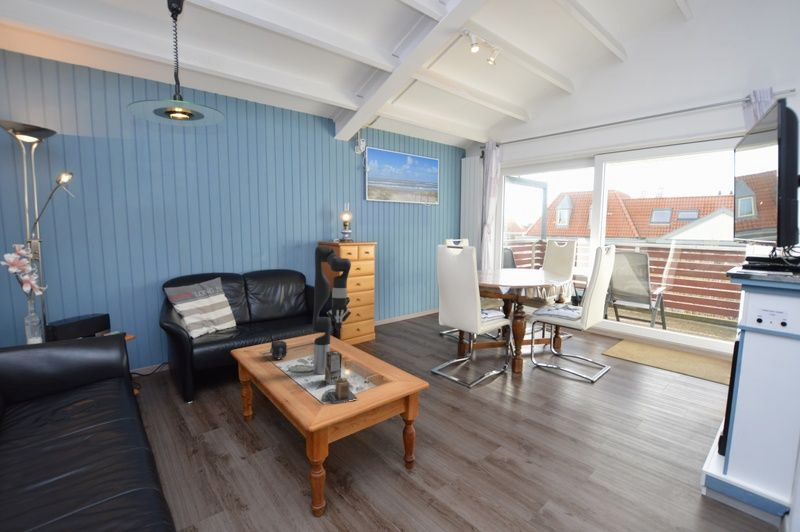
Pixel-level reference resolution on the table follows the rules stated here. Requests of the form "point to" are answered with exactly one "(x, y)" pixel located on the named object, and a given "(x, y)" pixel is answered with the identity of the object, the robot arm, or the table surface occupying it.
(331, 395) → the stub plate
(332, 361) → the coffee box
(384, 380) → the table surface
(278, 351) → the camera
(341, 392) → the brown block
